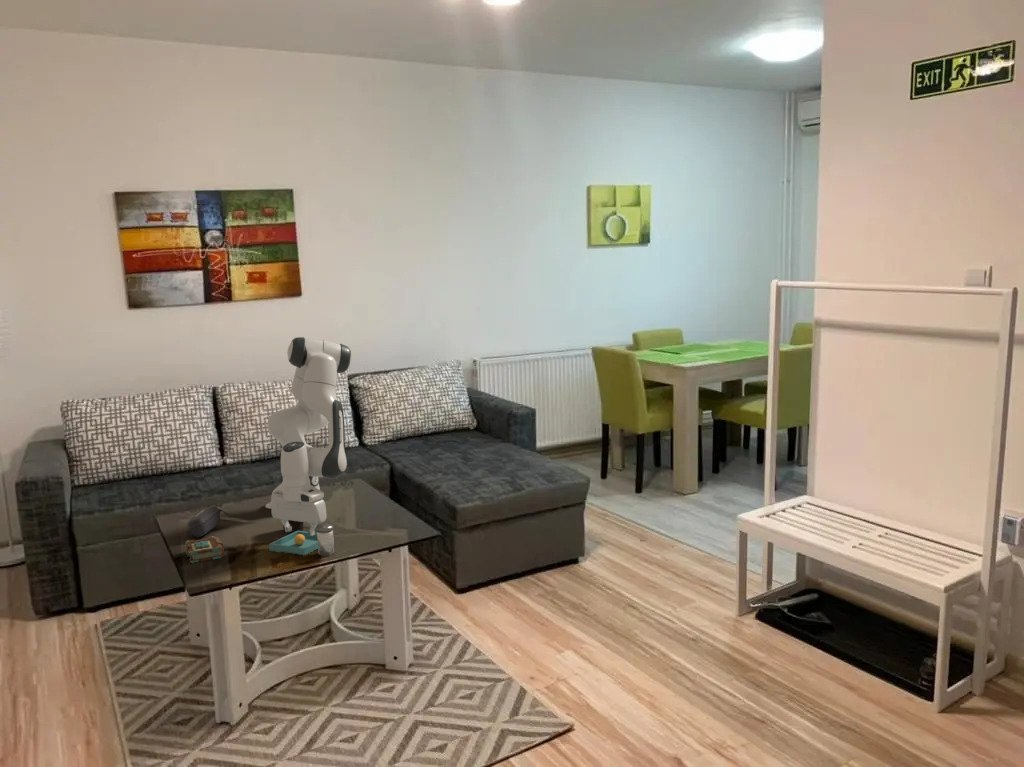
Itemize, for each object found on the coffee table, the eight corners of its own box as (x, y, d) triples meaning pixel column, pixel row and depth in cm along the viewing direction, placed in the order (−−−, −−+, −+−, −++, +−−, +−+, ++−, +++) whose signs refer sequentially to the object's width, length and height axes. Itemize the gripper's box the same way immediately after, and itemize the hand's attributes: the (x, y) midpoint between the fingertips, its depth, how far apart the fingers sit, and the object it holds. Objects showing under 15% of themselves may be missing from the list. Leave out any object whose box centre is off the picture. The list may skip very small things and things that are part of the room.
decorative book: (218, 542, 277) (217, 528, 276) (226, 558, 261) (224, 543, 260) (176, 549, 271) (175, 535, 270) (181, 567, 255) (179, 551, 255)
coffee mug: (279, 529, 287) (277, 501, 286) (304, 525, 291) (302, 498, 289) (284, 539, 277) (281, 510, 275) (309, 535, 280) (307, 507, 278)
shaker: (314, 555, 260) (312, 528, 259) (325, 549, 265) (323, 522, 264) (328, 557, 258) (326, 529, 257) (338, 551, 263) (336, 524, 262)
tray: (269, 551, 265) (269, 543, 265) (298, 537, 278) (297, 530, 278) (303, 556, 259) (303, 549, 259) (331, 542, 272) (331, 535, 272)
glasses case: (202, 524, 296) (200, 503, 295) (231, 523, 295) (229, 503, 294) (181, 541, 278) (179, 519, 277) (212, 541, 278) (210, 518, 277)
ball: (292, 546, 268) (290, 536, 267) (299, 542, 271) (297, 532, 270) (301, 546, 266) (299, 536, 266) (308, 542, 269) (306, 532, 269)
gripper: (265, 492, 268) (268, 532, 270) (315, 498, 259) (318, 540, 261) (278, 486, 273) (281, 526, 275) (328, 492, 264) (330, 533, 266)
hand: (299, 533), depth 268 cm, fingers open, 8 cm apart
